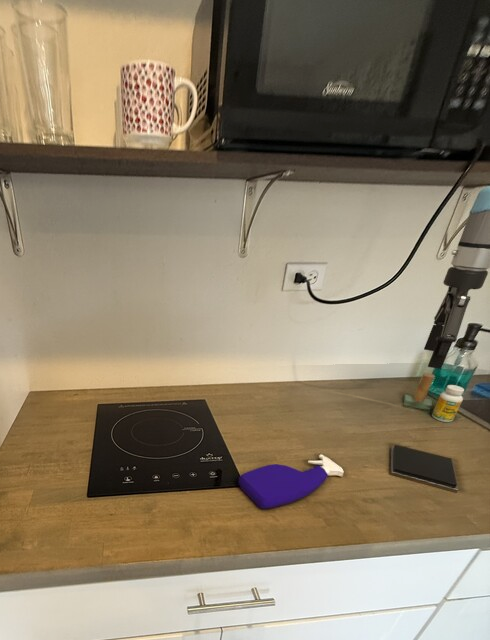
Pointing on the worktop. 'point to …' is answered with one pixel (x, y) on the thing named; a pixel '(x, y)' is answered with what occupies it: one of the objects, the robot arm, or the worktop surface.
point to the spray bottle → (285, 482)
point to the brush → (420, 394)
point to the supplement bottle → (448, 403)
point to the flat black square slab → (423, 468)
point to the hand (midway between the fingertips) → (431, 358)
